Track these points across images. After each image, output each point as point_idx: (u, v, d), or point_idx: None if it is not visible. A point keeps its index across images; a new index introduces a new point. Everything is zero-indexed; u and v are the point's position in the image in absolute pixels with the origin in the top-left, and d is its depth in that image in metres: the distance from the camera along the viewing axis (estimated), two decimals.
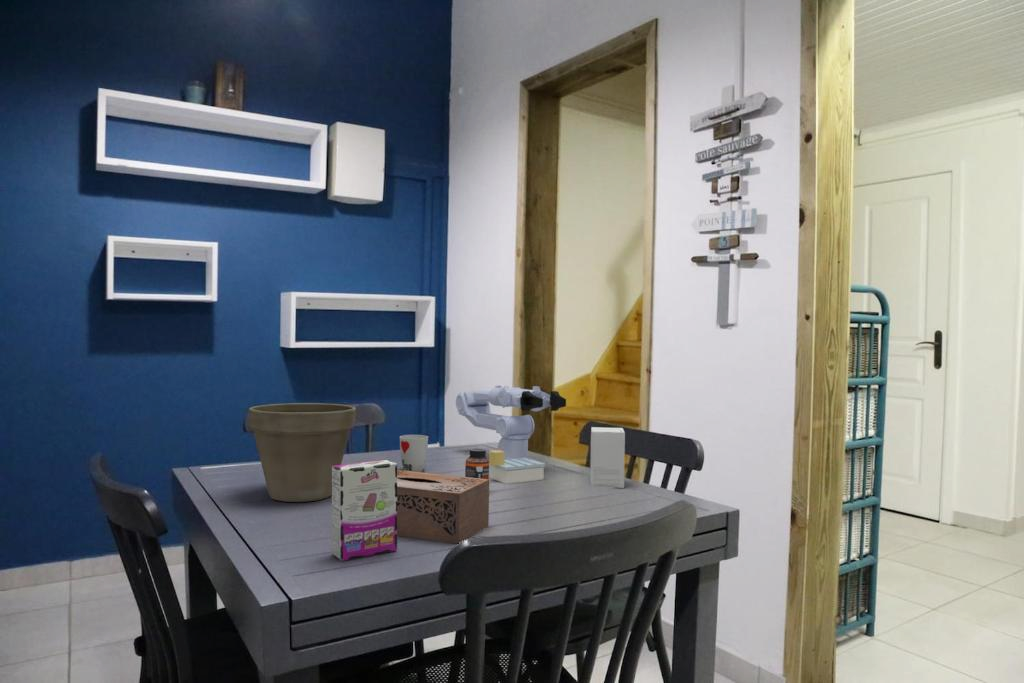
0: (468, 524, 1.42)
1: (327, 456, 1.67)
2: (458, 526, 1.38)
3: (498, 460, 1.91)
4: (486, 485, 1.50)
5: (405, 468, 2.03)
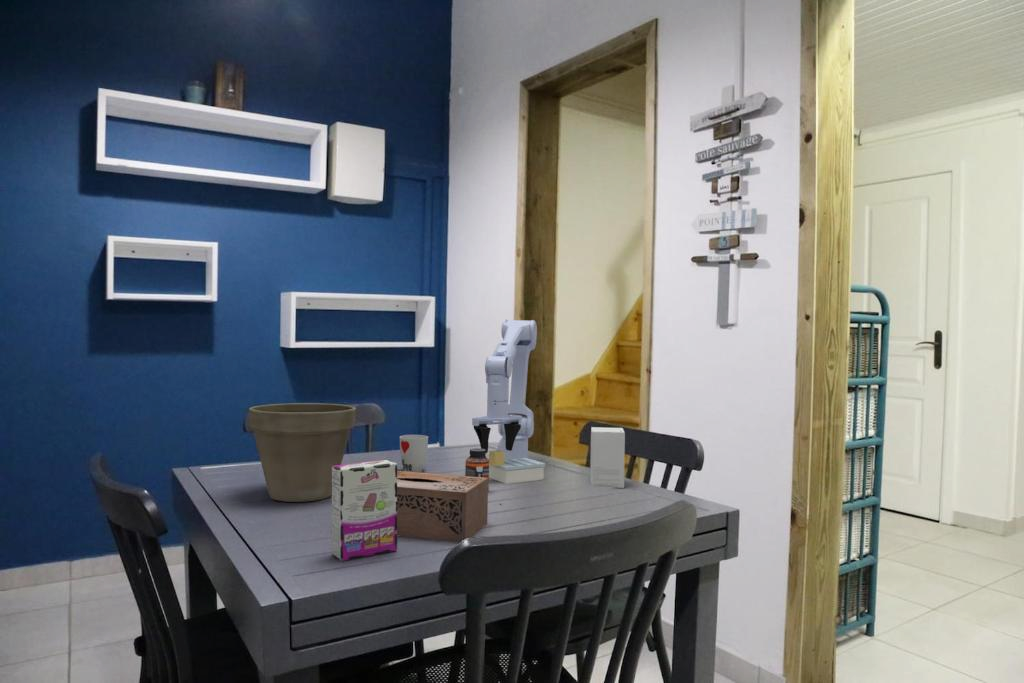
0: (472, 523, 1.43)
1: (327, 456, 1.67)
2: (464, 525, 1.39)
3: (498, 460, 1.91)
4: (486, 483, 1.51)
5: (405, 468, 2.03)
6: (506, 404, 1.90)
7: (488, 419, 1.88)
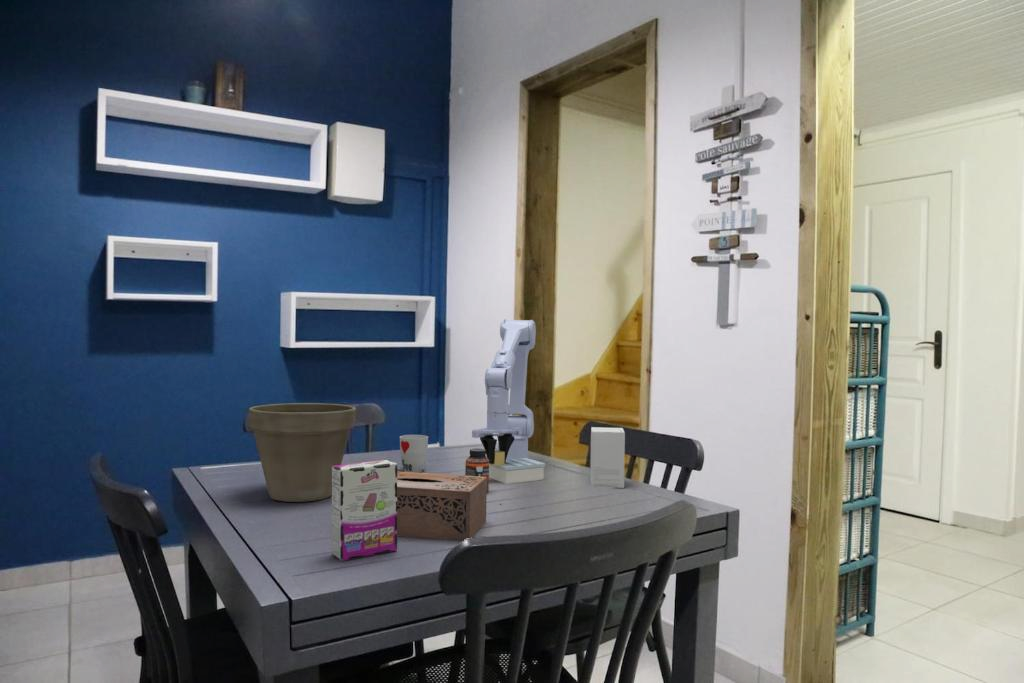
0: (474, 522, 1.44)
1: (327, 456, 1.67)
2: (468, 524, 1.40)
3: (498, 460, 1.91)
4: (485, 482, 1.52)
5: (405, 468, 2.03)
6: (506, 416, 1.91)
7: (488, 431, 1.89)
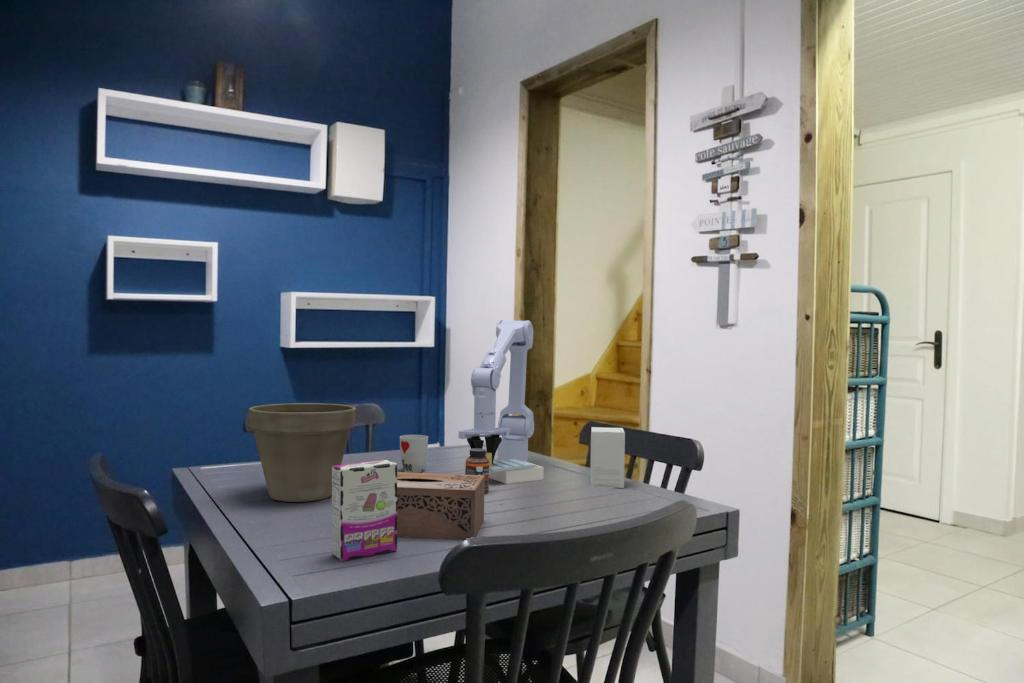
0: (477, 520, 1.45)
1: (327, 456, 1.67)
2: (473, 522, 1.41)
3: None
4: (483, 481, 1.54)
5: (405, 468, 2.03)
6: (493, 417, 1.88)
7: (475, 432, 1.86)
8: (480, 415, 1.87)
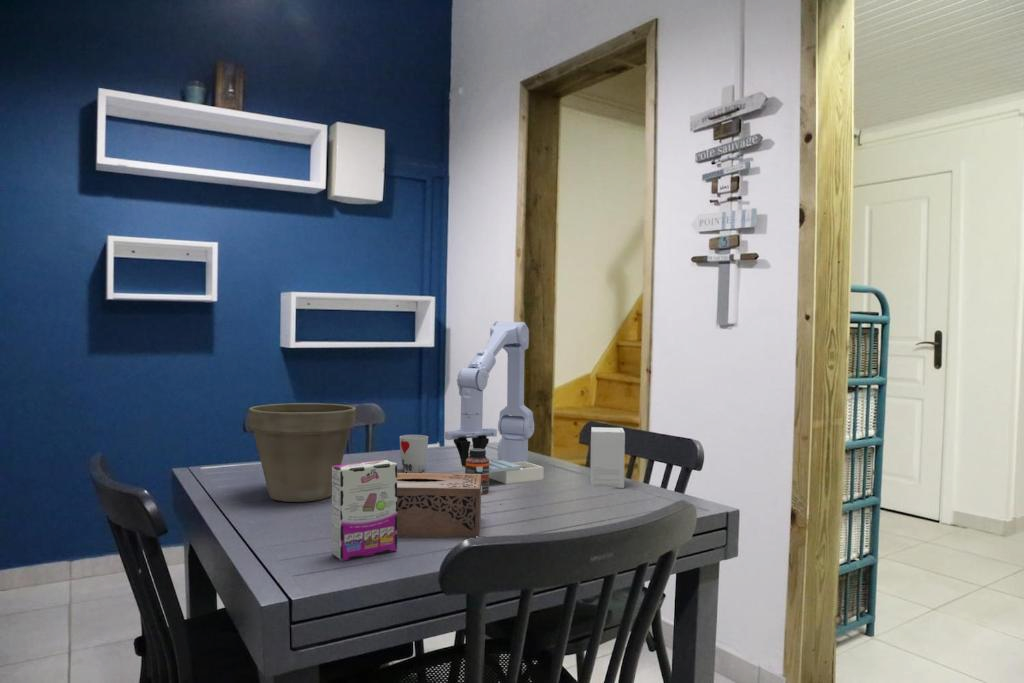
0: None
1: (327, 456, 1.67)
2: (478, 520, 1.42)
3: None
4: None
5: (405, 468, 2.03)
6: (480, 417, 1.86)
7: (461, 433, 1.84)
8: (467, 416, 1.85)
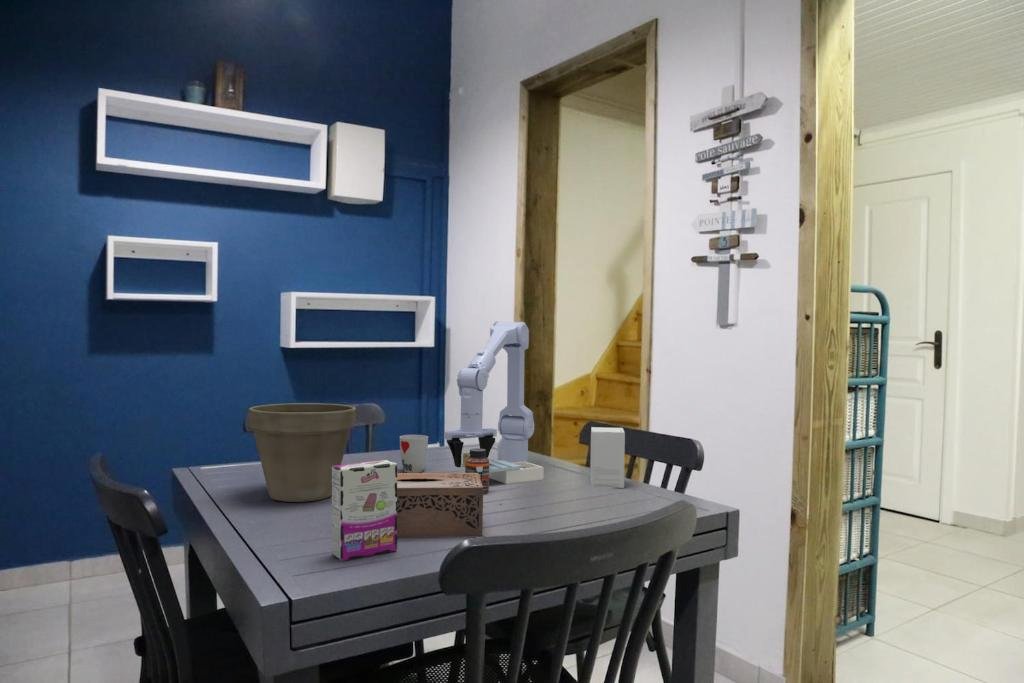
0: None
1: (327, 456, 1.67)
2: (481, 519, 1.44)
3: None
4: None
5: (405, 468, 2.03)
6: (480, 417, 1.86)
7: (461, 433, 1.84)
8: (467, 416, 1.85)
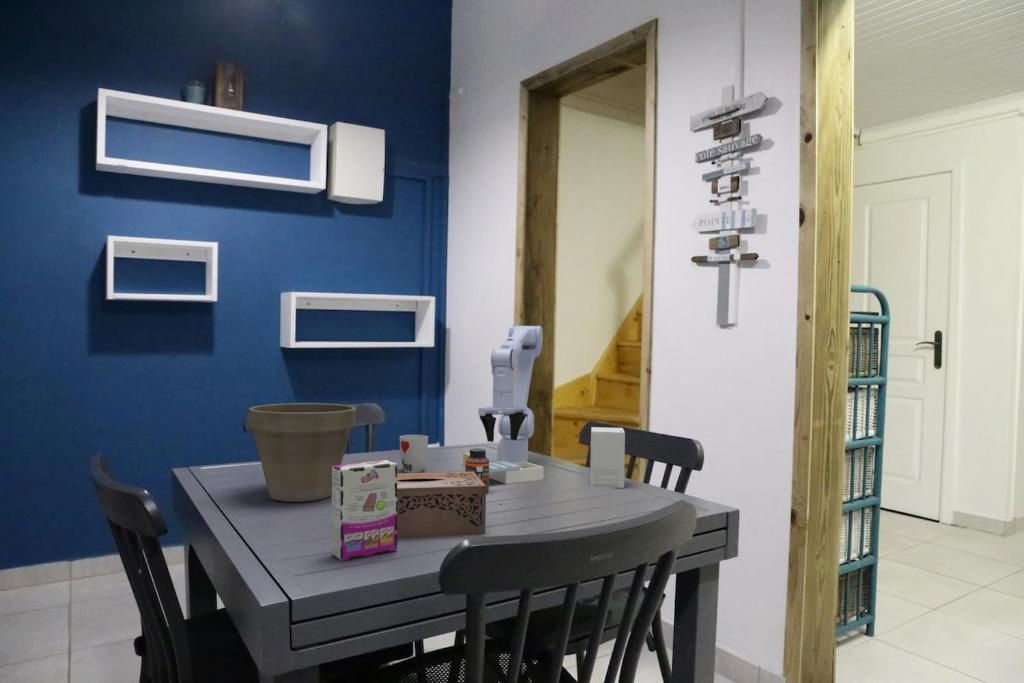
0: None
1: (327, 456, 1.67)
2: (484, 517, 1.45)
3: None
4: None
5: (405, 468, 2.03)
6: (511, 395, 1.97)
7: (494, 409, 1.95)
8: (499, 393, 1.96)
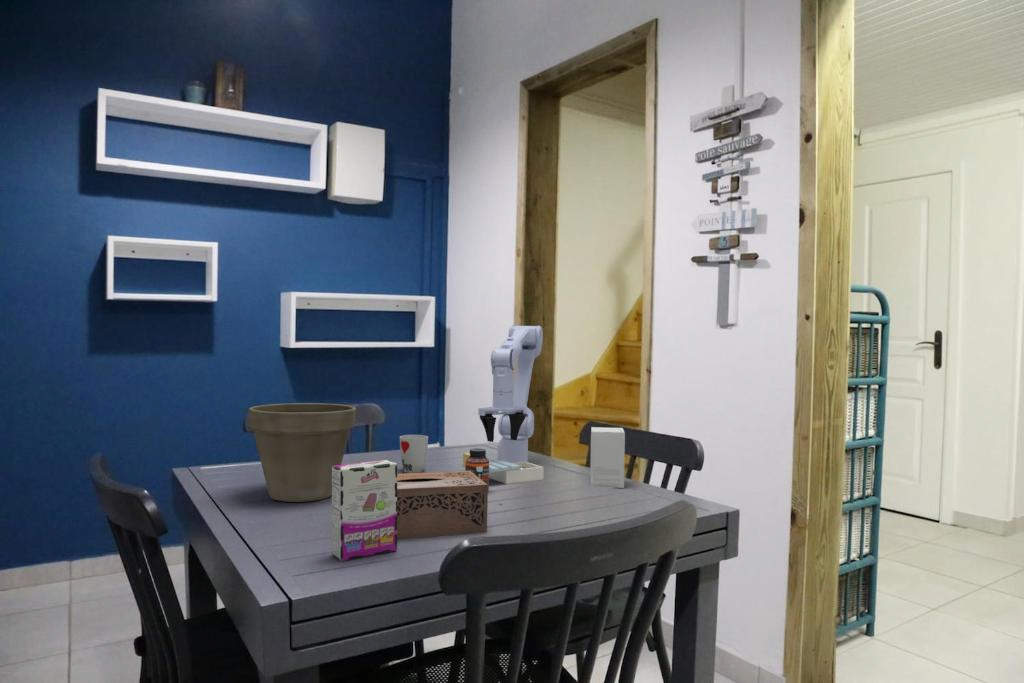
0: None
1: (327, 456, 1.67)
2: (486, 515, 1.46)
3: None
4: None
5: (405, 468, 2.03)
6: (511, 395, 1.97)
7: (494, 409, 1.95)
8: (499, 393, 1.96)
